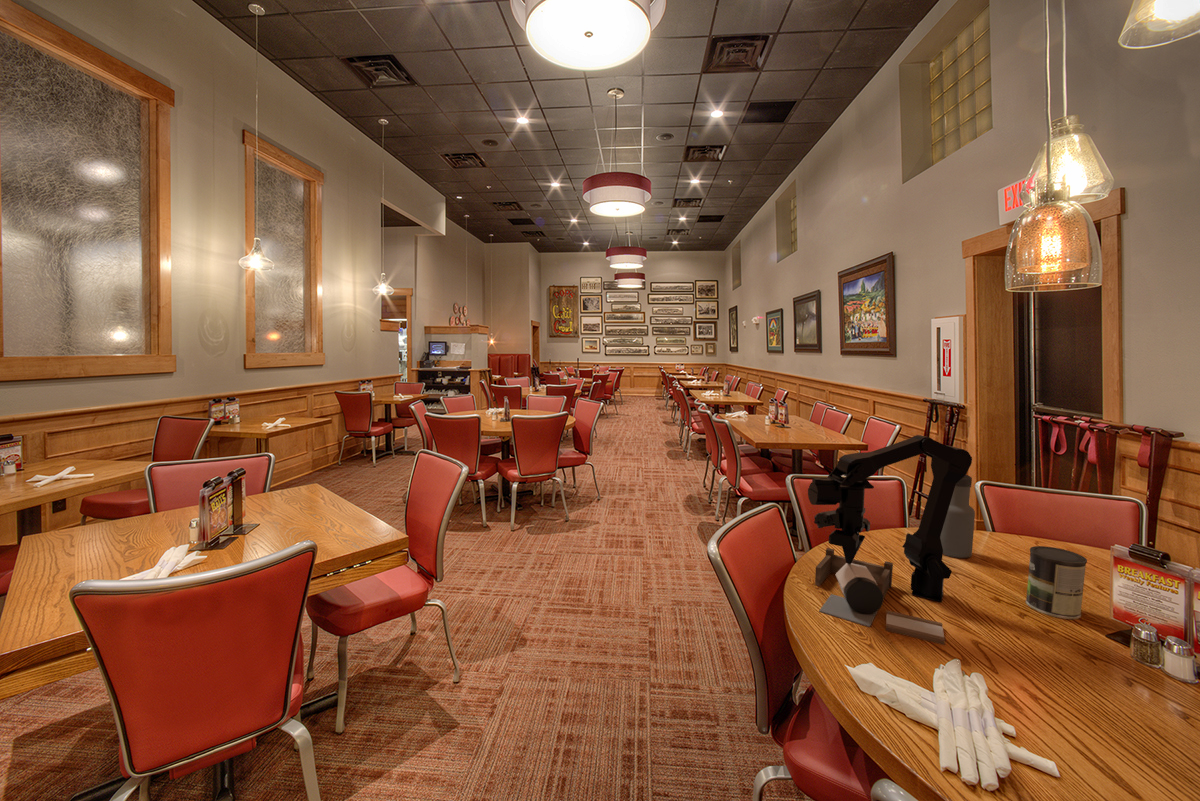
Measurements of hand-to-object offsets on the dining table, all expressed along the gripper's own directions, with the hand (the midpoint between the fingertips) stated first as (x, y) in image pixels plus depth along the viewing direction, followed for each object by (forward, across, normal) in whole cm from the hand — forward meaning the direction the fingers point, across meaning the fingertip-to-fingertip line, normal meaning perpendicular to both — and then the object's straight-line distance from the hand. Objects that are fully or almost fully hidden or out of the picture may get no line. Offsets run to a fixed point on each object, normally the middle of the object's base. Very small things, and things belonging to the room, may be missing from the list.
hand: (848, 563), depth 129 cm
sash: (+8, +9, +16) cm, 20 cm away
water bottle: (+9, -52, +20) cm, 56 cm away
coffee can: (+9, -24, +42) cm, 49 cm away
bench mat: (+8, +9, +2) cm, 12 cm away
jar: (+4, -2, +1) cm, 5 cm away
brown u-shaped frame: (+8, -6, 0) cm, 11 cm away
